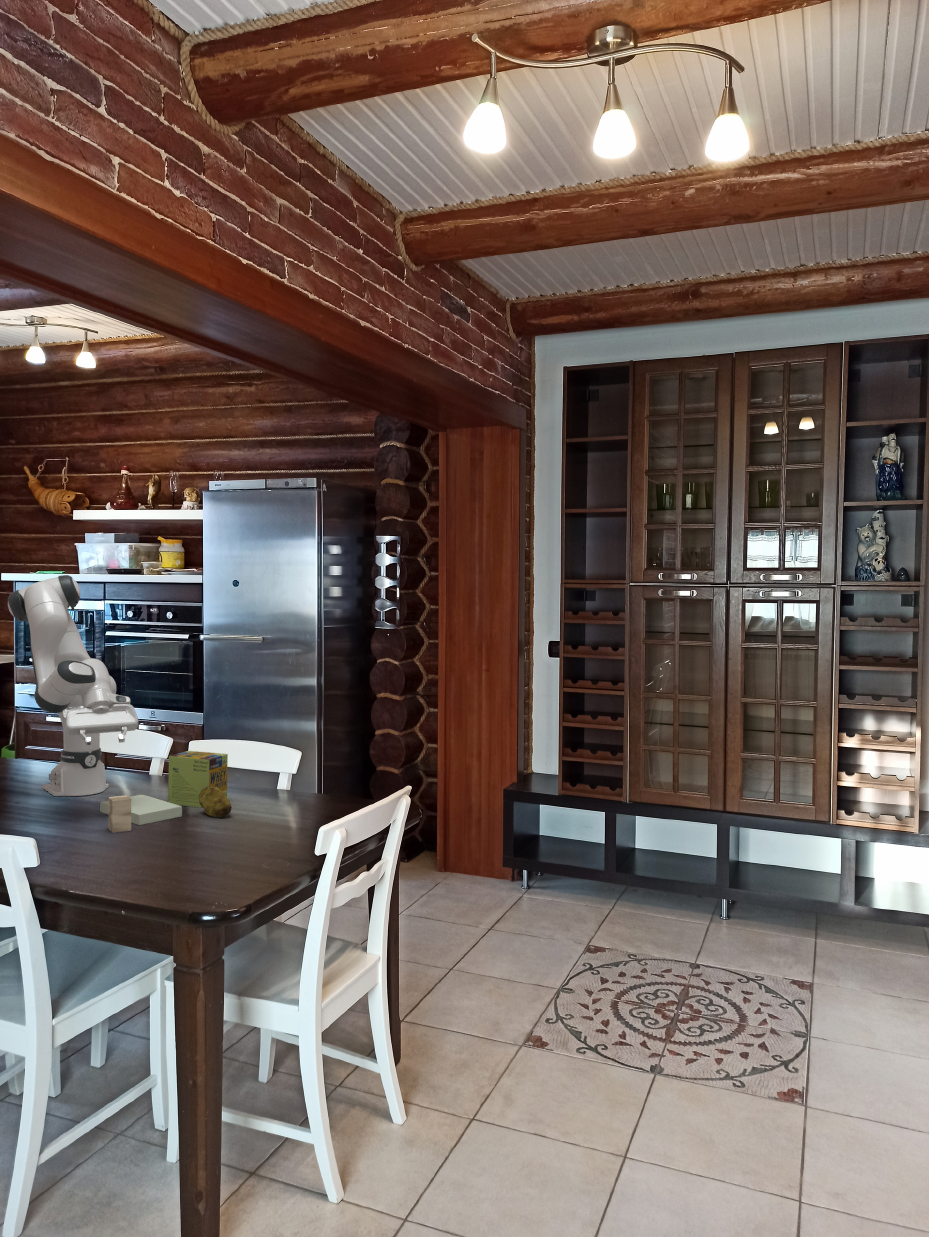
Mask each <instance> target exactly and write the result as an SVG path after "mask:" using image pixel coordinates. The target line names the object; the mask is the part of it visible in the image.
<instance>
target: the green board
mask: <svg viewBox="0 0 929 1237" xmlns="http://www.w3.org/2000/svg"><path fill="white" fill-rule="evenodd" d="M129 797H130V798H131V824H135V825H138V826H142V825H146V824H151V823H156V822H162V821H166V820H171V819H175V818H179V817H180V818H181V817H182V816H183V805H176V804H172V803H169V802H168V801H165V800H162V799H159V798H156V797H152V796H149V795H146V794H136V795H131V796H129ZM99 804H100V808H99V809H100V810H99V811H100V813H102V814H105V815H107V816H109V800H105V801H100V803H99Z"/></svg>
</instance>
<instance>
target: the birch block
mask: <svg viewBox="0 0 929 1237" xmlns="http://www.w3.org/2000/svg"><path fill="white" fill-rule="evenodd" d="M130 797H131V796H129V795H127V794H126V795H118V796H117V795H116V796H108V801H109V815H108V830H109V831H110V832H111V833H121V832H128V831H129V832H130V831H132V823H131V798H130Z"/></svg>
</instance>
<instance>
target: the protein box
mask: <svg viewBox="0 0 929 1237" xmlns="http://www.w3.org/2000/svg"><path fill="white" fill-rule="evenodd" d="M208 786H214V787H217V788H219V789H220V790H221V791H222V792H223V793H225V794H226V796H227V797H228V753H218V752H210V751H209V752H208V751H197V750H194V751H193V750H187V751H183V752H179V753H175V754H171V755H168V791H167V792H168V793H167V794H168V795H167V796H168V798H167V799H168V800H167V802H169V803H172V804H176V805H179V806H182V807H183V806H185V807H192V808H200V807H201V805H200V803H199V794H200V792H201V790H202V789H204V788H206V787H208ZM201 808H202V807H201ZM202 809H203V808H202Z"/></svg>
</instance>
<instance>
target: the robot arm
mask: <svg viewBox="0 0 929 1237" xmlns="http://www.w3.org/2000/svg"><path fill="white" fill-rule="evenodd" d="M80 600H81V588H80V586H79V584H78V582H77V581H76V580H75V579H74V578H73V576H71V575H68V574H64V575H63V574H62V575H58V577H52V578H48V579H43V580H40V581H37V582H34V583H32V584H30V585H27V586H25V587H22V588H21V589H16V590H14V591H13V592H11V593H10V594H9V596H8V597H7V607H8V610H9V612H10V615H11V616H13V617H14V618H15V620H16V621H19V622H28V625H29V631H30V657H31V663H32V668H33V673H34V674H33V675H34V679H35V690H34V695H33V696H34V701H35V702H36V704H37V706H38V708H40V709H41V710H42V711H44V712H47V713H49V714H57V715H58V717H59V719H60V721H61V725H62V734H63V737H62V739H63V749H62V750H61V752H60V761H59V763H57V765H56V766H55V767H53V769H51V771H50V773H49V774H48V780H49V782H48V783H45V784H43V785H42V789H43V790H44V791H46V792H47V791H48V792H47V793H49V794H50V795H52V796H53V797H61V796H62V797H65V796H67V797H71V796H72V797H76V796H78V797H79V796H90V795H94V794H95V795H96V794H99V793H103V792H104V791H105V790H106V789H108V788H110V784H109V783H106V770H105V764H104V763H103V761H102V760H101V759H102V748H101V747H100V745H101V743H100V741H101V740H100V739H101V737H100V736H101V734H104V733H105V734H106V733H119V732H120V733H121V734H118V738H117V739H118V743H125V741H126V735H127V732H132V731H136V730H137V728H138V727H139V718H138V714H137V711H136V709H135V707H134V706H133V705H132V704H131V698H130V697H129V696H125V695H121V694H120V695H119V694H116V693H117V684H116V681H115V679H114V678H113V677H112V676H111V675H110V674H109V671H108V667H106V665H105V663H104V662H103V661H101V660H100V659H97V658H92V657H91V656H90V655H89V654H88V651H87V649H86V647H85V645H84V642H83V640H82V637H81V635H80V632H79V629H78V627H77V625H76V623H75V621H74V620H73V617H72V615H71V614H70V612H69V611H68V609H69V608H70V609H71V610H72V612H74V611H75V607H76V606H77V605H78V604H79V602H80Z"/></svg>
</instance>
